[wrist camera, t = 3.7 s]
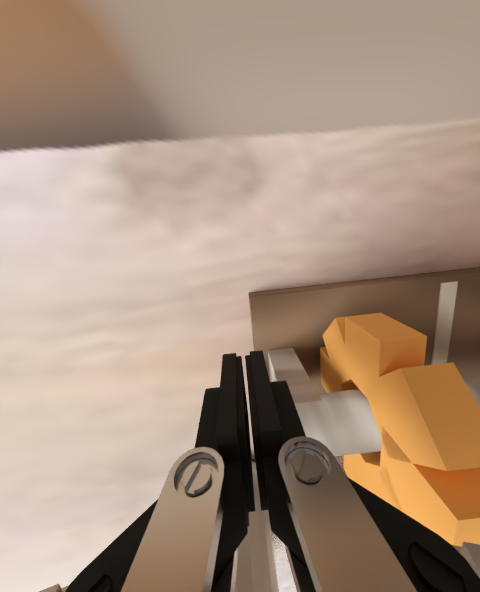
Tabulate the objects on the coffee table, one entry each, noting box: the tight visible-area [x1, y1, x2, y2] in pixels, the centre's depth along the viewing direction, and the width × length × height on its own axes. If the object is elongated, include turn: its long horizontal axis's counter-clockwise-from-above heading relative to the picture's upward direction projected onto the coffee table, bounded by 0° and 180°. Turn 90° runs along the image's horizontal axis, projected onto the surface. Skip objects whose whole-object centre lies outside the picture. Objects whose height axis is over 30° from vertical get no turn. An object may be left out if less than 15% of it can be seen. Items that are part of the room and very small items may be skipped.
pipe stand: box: [249, 267, 480, 456], centre depth 15 cm, size 12×22×9 cm, turn 96°
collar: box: [320, 313, 480, 547], centre depth 12 cm, size 11×2×11 cm, turn 6°
